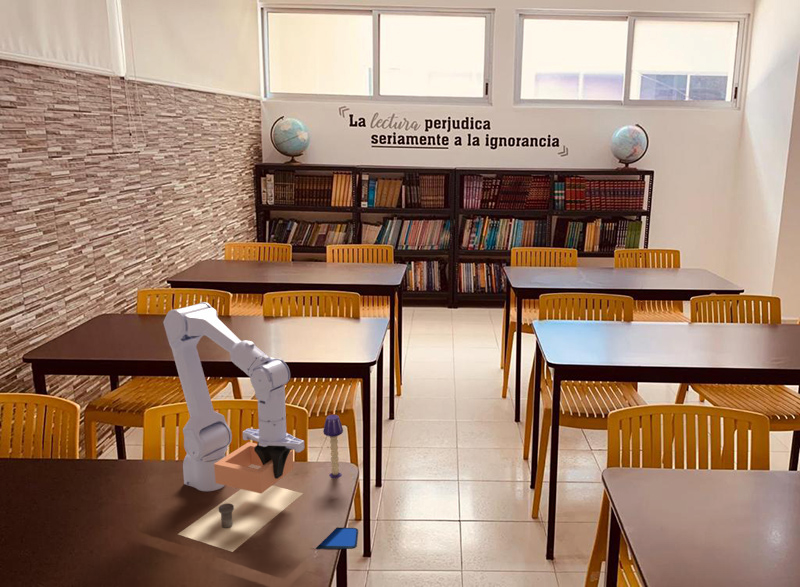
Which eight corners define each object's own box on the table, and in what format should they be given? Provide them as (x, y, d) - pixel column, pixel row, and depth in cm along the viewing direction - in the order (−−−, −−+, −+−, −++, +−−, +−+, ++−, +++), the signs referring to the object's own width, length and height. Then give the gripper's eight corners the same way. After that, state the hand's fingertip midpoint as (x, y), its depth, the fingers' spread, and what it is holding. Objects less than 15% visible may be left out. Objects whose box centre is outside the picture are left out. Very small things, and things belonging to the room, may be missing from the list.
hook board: (178, 540, 140) (176, 515, 139) (253, 486, 162) (252, 464, 161) (232, 558, 134) (231, 532, 133) (303, 499, 156) (302, 476, 155)
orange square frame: (215, 483, 147) (213, 463, 146) (249, 460, 158) (248, 441, 157) (261, 493, 142) (259, 473, 141) (293, 469, 153) (292, 450, 152)
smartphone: (356, 547, 137) (282, 546, 137) (356, 551, 138) (282, 550, 137) (358, 527, 144) (287, 526, 144) (358, 531, 145) (287, 529, 145)
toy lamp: (339, 487, 162) (338, 421, 158) (321, 484, 163) (319, 419, 159) (347, 478, 166) (346, 413, 162) (329, 475, 167) (328, 411, 164)
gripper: (232, 417, 144) (235, 476, 147) (290, 430, 138) (292, 491, 141) (252, 406, 150) (255, 462, 153) (309, 417, 144) (310, 476, 147)
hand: (274, 475), depth 148 cm, fingers closed on orange square frame, 2 cm apart
